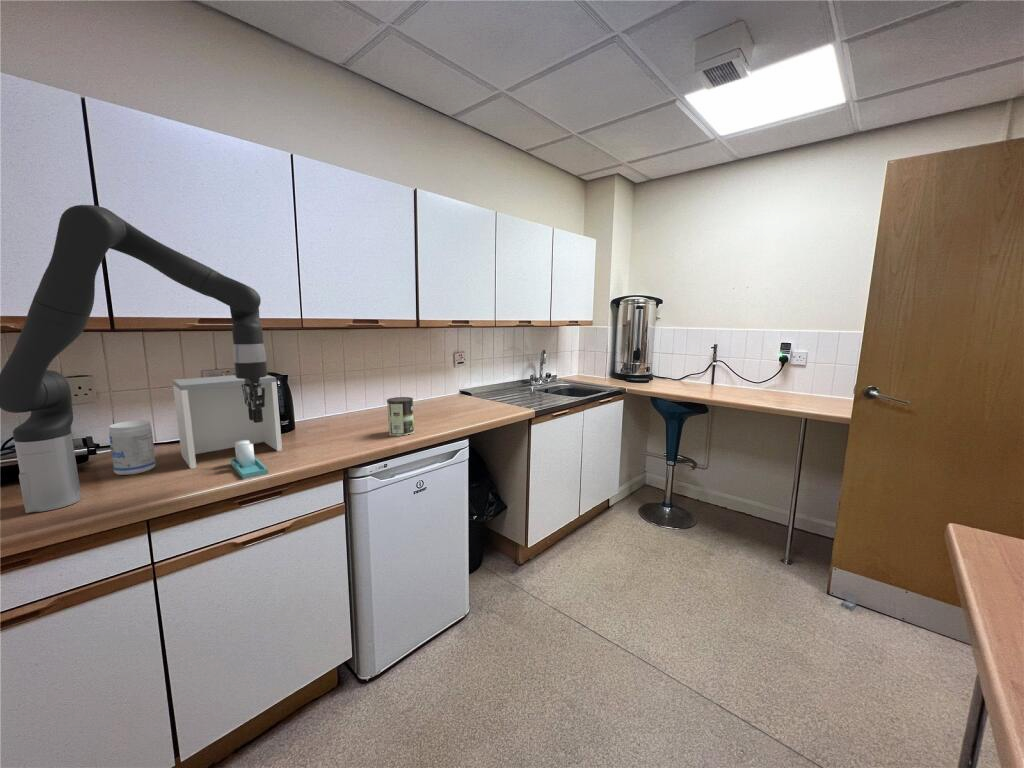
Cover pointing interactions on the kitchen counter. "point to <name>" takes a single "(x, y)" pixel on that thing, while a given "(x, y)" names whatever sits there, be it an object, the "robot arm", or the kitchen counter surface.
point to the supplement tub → (132, 447)
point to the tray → (250, 470)
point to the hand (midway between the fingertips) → (256, 420)
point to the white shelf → (222, 415)
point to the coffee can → (400, 416)
